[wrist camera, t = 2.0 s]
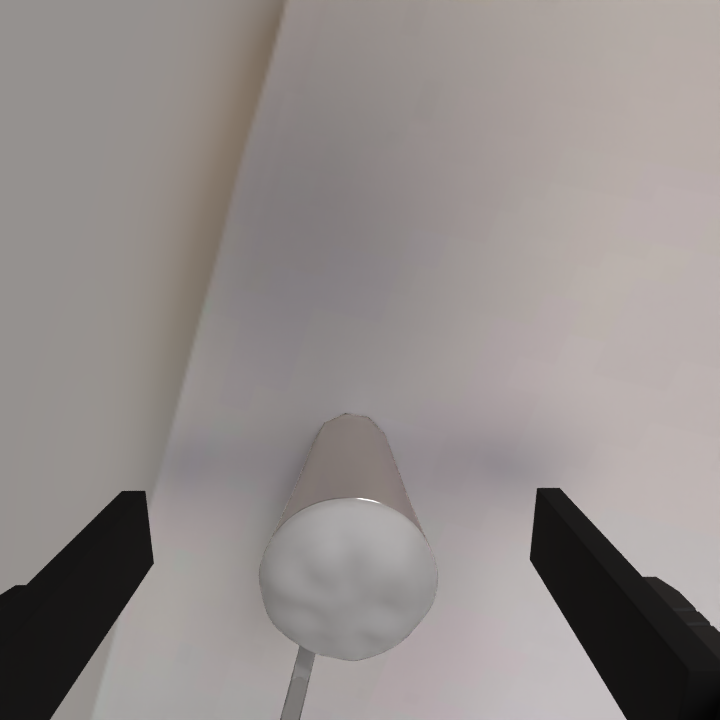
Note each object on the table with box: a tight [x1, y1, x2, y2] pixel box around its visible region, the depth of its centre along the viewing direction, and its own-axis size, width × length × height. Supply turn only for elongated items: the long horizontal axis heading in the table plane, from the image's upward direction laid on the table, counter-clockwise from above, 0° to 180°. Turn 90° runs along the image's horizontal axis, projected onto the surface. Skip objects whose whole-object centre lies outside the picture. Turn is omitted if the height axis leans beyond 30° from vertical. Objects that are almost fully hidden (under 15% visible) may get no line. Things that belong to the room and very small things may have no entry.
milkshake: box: [259, 413, 438, 720], centre depth 14 cm, size 4×5×10 cm
